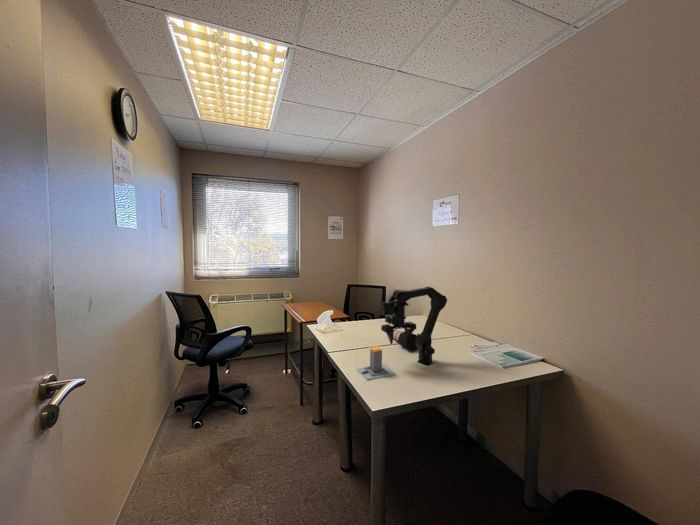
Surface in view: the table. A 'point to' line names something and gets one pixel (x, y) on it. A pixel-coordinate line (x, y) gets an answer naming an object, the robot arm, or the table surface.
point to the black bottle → (400, 338)
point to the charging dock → (370, 375)
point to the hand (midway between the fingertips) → (398, 342)
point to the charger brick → (376, 359)
